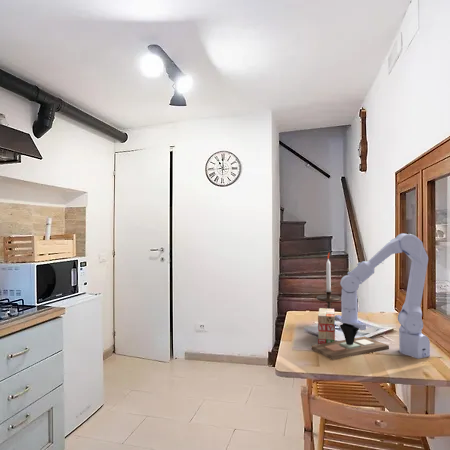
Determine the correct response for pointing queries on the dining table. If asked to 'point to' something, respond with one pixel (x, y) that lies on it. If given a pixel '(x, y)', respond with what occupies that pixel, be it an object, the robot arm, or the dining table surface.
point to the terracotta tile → (334, 348)
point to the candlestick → (328, 288)
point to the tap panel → (349, 352)
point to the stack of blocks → (326, 326)
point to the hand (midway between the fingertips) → (349, 344)
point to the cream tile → (364, 342)
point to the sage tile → (350, 345)
